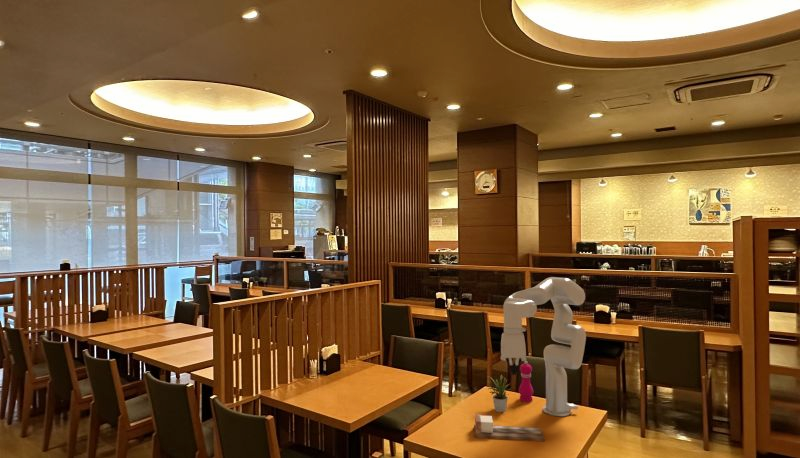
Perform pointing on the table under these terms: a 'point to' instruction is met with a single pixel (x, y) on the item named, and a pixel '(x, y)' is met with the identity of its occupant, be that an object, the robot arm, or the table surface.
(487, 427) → the block
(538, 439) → the rail board
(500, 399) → the house plant
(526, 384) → the pepper mill
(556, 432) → the table surface
